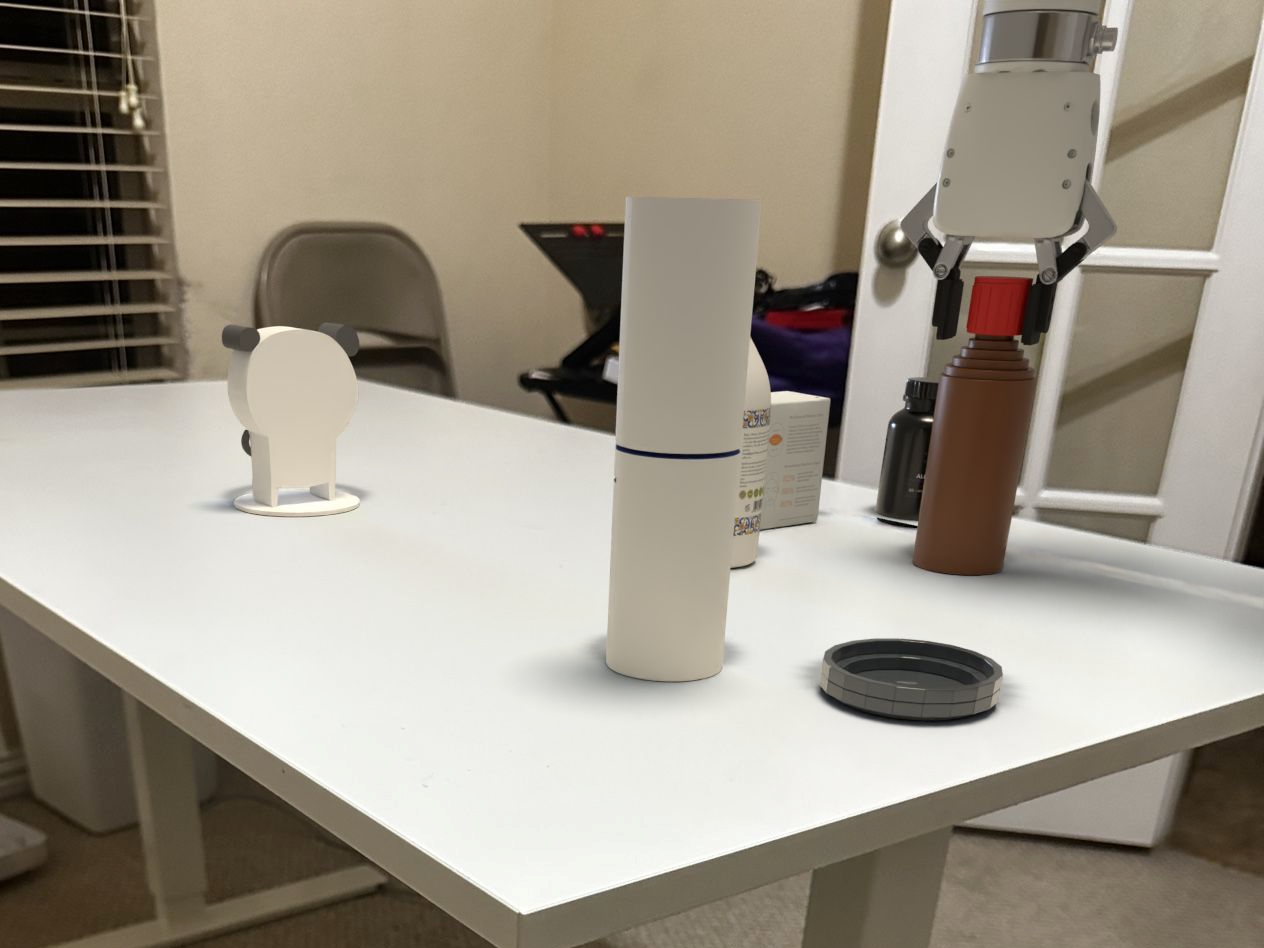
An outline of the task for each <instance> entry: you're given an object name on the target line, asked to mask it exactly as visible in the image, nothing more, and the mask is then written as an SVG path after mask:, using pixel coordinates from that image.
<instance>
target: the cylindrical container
mask: <svg viewBox="0 0 1264 948" xmlns="http://www.w3.org/2000/svg"><path fill="white" fill-rule="evenodd" d="M762 203H763V200H762V199H746V198H743V199H742V198H711V197H710V198H708V197H707V198H706V197H704V198H703V197H665V196H664V197H662V196H661V197H659V196H658V197H654V196H625V209H624V232H623V256H622V276H621V277H622V278H621V280H622V281H621V299H620V301H621V303H620V305H621V306H620V321H619V323H620V324H619V325H620V326H619V346H618V369H617V370H618V371H617V391H616V393H617V395H616V415H615V419H616V420H615V439H614V440H615V441H614V463H613V464H614V465H613V476H614V478H613V488H612V489H613V490H612V509H611V510H612V512H611V534H610V535H611V537H610V556H609V557H610V559H609V580H608V581H609V584H608V607H607V608H608V609H607V628H606V655H605V664H606V665H607V667H608V668H609V669H610V670H611V671H614V672H615V673H618V674H620V675H623V676H626V677H630V678H633V679H638V680H639V679H640V680H644V681H653V682H654V681H655V682H688V681H690V682H691V681H698V680H704V679H707V678H711V677H712V676H716V675H718V674H719V673H720V672H722V671H721V670H722V669H723V664H724V650H725V639H726V626H727V616H728V615H727V614H728V604H729V603H728V602H729V591H730V578H731V569H732V568H731V557H732V545H733V533H734V522H735V510H736V499H737V487H738V476H739V464H740V450H739V448H740V447H741V441H742V429H743V417H744V405H745V393H746V381H747V369H748V357H749V345H750V337H751V331H752V319H753V308H754V299H755V298H754V296H755V287H756V286H755V285H756V284H755V283H756V273H757V261H758V252H759V251H758V250H759V239H760V228H761V227H760V226H761V218H762V217H761V215H762Z"/></svg>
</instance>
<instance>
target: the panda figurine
mask: <svg viewBox="0 0 1264 948" xmlns="http://www.w3.org/2000/svg"><path fill="white" fill-rule="evenodd" d="M221 344H222V346H223V347H224V348H226V349H230V350H232V353H231V357H230V360H229V361H230V362H229V366H228V371H227V395H228V400H229V404H230V406H231V409H232V411H233V414H234V416H235V417H236V419H237V420H238V421H239V423H240V424H241V425H242V426H243V427H244V428H245V429H244V431H243V432H242V434H241V437H240V438H241V439H240V442H241V447H242V450H243V451H244V452H245V454H246V455H248V456H249V457H250V458H251V473H252V479H251V480H252V482H251V485H252V487H251V488H252V492H250V493H246V494H243V495H240V496H238V497H236V498H235V499H234V500H233V502H234V503H233V504H234V507H235V508H236V509H237V510H239V511H242V512H245V513H249V514H254V515H262V516H269V517H270V516H272V517H316V516H317V517H319V516H329V515H335V514H341V513H346V512H349V511H353V510H355V509H357V508H359V507H360V505H361V500H360V498H359V497H358V496H356V495H354V494H350V493H348V492H343V491H337V490H336V480H337V479H336V478H337V475H336V474H337V473H336V472H337V445H338V444H337V441H338V437H339V436H340V435H341V434H342V433H343V432H344V431H345V429H346V428H347V427H348V426H349V424H350V423H351V421H352V419H353V417H354V414H355V412H356V410H357V406H358V402H359V397H360V395H359V393H360V392H359V383H358V378H357V375H356V371H355V369H354V366H353V364H352V362H351V360H350V358H349V357H354V356H356V355H357V353H358V352H359V349H360V339H359V336H358V333H357V331H356V330H355V329H354V328H353V327H352V326H349V325H348V324H340V323H335V322H334V323H333V322H328V321H327V322H323V323H321V324H320V326H319V327H318V329H317V331H316V330H311V329H306V328H297V327H293V326H283V325H278V326H267V327H262V328H261V327H260V328H257V329H256V328H255V327H251V326H244V325H238V324H227V325H225V326H224V327H223V329H222V332H221ZM279 488H281V489H279Z"/></svg>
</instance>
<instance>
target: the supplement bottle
mask: <svg viewBox="0 0 1264 948" xmlns="http://www.w3.org/2000/svg"><path fill="white" fill-rule="evenodd" d="M939 378H940V377H926V376H925V377H924V376H921V377H920V376H919V377H918V376H917V377H916V376H915V377H914V376H913V377H907V378H906V382H905V388H904V394H903V395H902V401H903V402H905V403H904V407H903V408H902V409H900V410H898V411H896V412H895V413H894V414H893V415H892V416H891V418H890V419H889V420H888V423H887V429H886V434H885V435H886V436H885V443H884V449H883V456H882V462H881V470H880V474H879V475H880V476H879V483H878V489H877V496H876V504H875V511H874V512H875V513H876V514H877V515H879V516H882V517H885V518H882V517H878V516H877V517H875V518H876V520H877V521H878V522H880V523H882V524H885V525H888V526H893V527H898V528H905V529H914V530H915V529H916V530H917V527H918V525H916V524H911V523H906V522H901V521H912V522H918V520H919V513H920V506H921V500H922V493H923V486H924V479H925V472H926V466H927V459H928V452H929V445H930V439H931V432H932V425H933V418H934V412H935V405H936V398H937V391H938V384H939ZM887 518H889V519H887ZM892 519H894V520H892ZM896 520H901V521H896Z"/></svg>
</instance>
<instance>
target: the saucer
mask: <svg viewBox="0 0 1264 948" xmlns="http://www.w3.org/2000/svg"><path fill="white" fill-rule="evenodd" d="M1003 677H1004V673H1003V667H1002V666H1001V665H1000V664H999V663H998V662H996V660H994V659H993V658H991V657H989V656H987V655H985V654H982V653H980V652H977V651H974V650H972V649H968V648H964V647H962V646H958V645H954V644H950V643H949V644H948V643H942V642H938V641H937V642H936V641H929V640H924V639H923V640H922V639H912V638H896V637H895V638H889V637H888V638H879V637H878V638H876V637H875V638H864V639H856V640H849V641H846V642H842V643H837V644H835V645H832V646H831V647H829V648H828V649H826V650H825V651H824V654H823V657H822V666H821V672H820V680H819V685H820V687H821V688H822V690H823V692H825V694H827V695H829V696H830V697H832V698H834V699H836V700H838V701H839V702H840V703H841V704H844V705H846V706H848V707H850V708H853V709H854V710H858V711H861V712H864V713H868V714H872V715H875V716H880V717H886V718H890V719H891V718H893V719H897V720H898V719H899V720H907V721H948V720H956V719H961V718H966V717H969V716H972V715H976V714H979V713H981V712H985V711H988V710H990V709H992V708H993V707H994V706H995V705H996V704H997V703H998V702H999V698H1000V693H1001V687H1002V684H1003V683H1002V682H1003Z"/></svg>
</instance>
